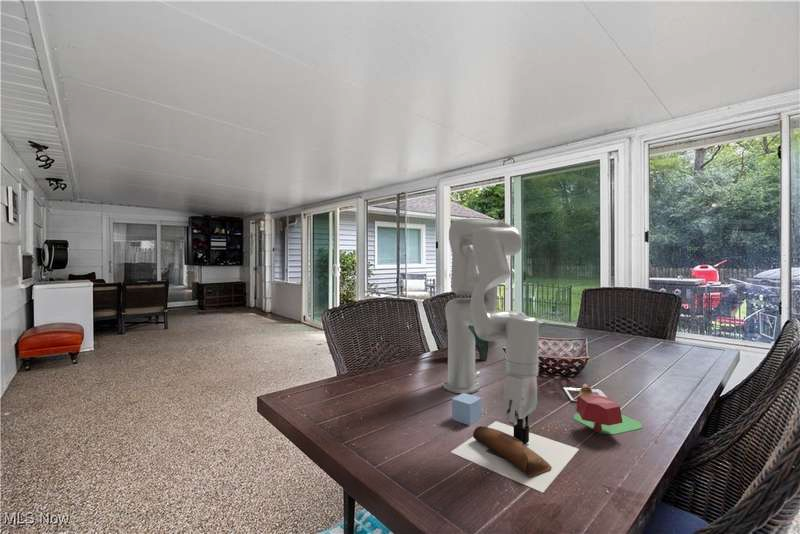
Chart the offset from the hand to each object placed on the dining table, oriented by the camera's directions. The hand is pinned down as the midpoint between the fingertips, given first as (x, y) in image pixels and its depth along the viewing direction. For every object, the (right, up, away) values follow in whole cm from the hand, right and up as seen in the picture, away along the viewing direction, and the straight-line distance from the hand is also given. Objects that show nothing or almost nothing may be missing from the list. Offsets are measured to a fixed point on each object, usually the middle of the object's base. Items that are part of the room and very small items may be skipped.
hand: (521, 441), depth 90 cm
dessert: (+32, -1, +32) cm, 45 cm away
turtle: (+27, -1, +11) cm, 29 cm away
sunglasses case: (-4, -1, -4) cm, 6 cm away
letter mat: (-2, -1, -2) cm, 3 cm away
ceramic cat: (0, +1, +76) cm, 76 cm away
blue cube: (-11, -1, +15) cm, 18 cm away
